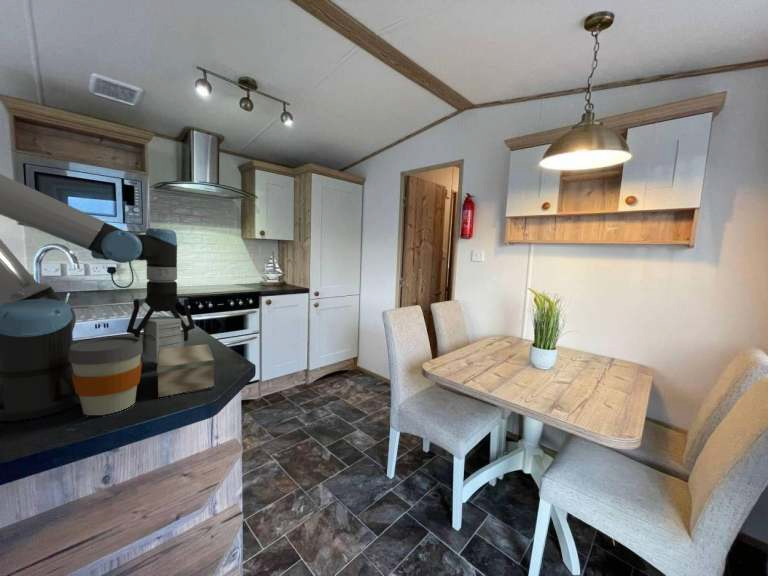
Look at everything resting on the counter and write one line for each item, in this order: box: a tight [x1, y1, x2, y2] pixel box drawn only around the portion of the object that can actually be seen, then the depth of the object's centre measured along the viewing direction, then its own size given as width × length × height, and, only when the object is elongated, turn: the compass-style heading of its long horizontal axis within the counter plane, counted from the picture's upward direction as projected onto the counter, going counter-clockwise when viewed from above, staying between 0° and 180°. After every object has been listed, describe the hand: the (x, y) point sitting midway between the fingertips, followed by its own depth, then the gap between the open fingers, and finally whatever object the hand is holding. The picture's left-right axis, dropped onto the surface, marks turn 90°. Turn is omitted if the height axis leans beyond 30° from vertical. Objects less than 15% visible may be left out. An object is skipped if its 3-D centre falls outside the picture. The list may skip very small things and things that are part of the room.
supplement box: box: [142, 315, 182, 364], centre depth 98 cm, size 7×7×13 cm
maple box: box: [156, 343, 215, 398], centre depth 87 cm, size 12×16×8 cm
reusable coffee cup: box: [69, 335, 143, 415], centre depth 72 cm, size 12×13×15 cm
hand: (162, 353), depth 98 cm, fingers closed on supplement box, 10 cm apart
